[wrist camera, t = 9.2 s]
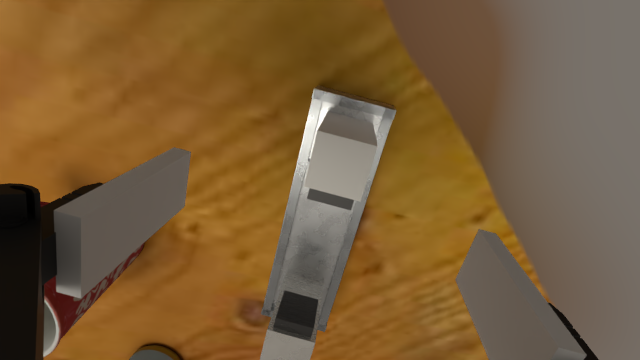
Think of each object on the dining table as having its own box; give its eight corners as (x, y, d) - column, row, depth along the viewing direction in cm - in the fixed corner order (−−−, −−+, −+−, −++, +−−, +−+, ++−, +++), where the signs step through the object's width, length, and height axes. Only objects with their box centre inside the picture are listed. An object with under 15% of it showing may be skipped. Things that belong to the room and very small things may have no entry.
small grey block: (327, 111, 30) (317, 130, 23) (373, 123, 30) (377, 146, 23) (314, 165, 32) (300, 199, 25) (357, 176, 32) (356, 214, 24)
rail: (318, 85, 32) (299, 99, 22) (393, 105, 32) (407, 128, 22) (268, 295, 41) (238, 373, 31) (327, 311, 40) (316, 394, 31)
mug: (169, 251, 40) (81, 343, 27) (109, 278, 42) (3, 374, 30) (100, 153, 37) (-35, 206, 24) (39, 187, 39) (-114, 253, 26)
